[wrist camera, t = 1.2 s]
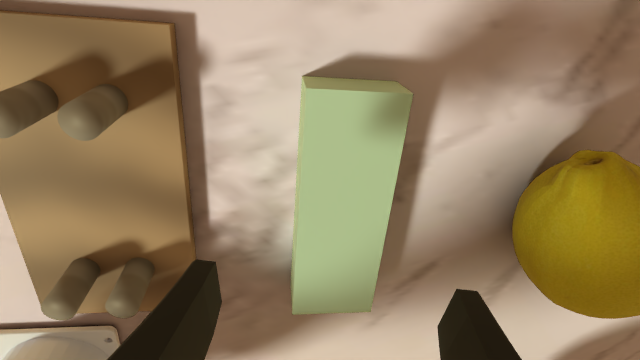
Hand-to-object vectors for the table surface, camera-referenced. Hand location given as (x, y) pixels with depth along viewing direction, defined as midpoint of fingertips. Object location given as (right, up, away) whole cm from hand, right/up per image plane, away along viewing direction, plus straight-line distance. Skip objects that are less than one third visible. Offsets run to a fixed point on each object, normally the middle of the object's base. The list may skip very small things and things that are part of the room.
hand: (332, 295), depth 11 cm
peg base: (-12, +3, +9) cm, 15 cm away
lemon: (+14, +2, +13) cm, 20 cm away
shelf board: (+1, +3, +11) cm, 12 cm away
